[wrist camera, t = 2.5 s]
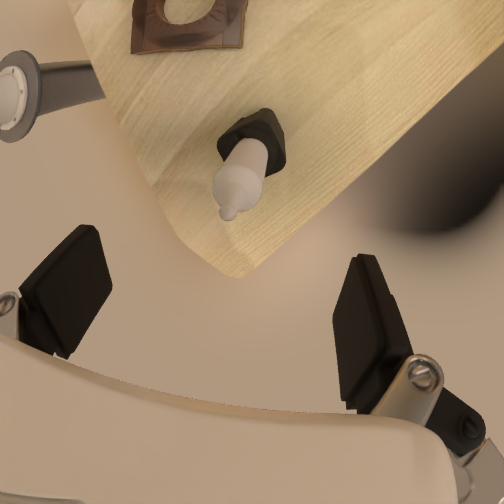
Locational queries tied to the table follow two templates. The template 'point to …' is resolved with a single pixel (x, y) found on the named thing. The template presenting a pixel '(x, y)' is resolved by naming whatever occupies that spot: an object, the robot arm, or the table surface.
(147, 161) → the table surface
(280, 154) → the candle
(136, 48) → the hole plate
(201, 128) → the table surface
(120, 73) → the table surface
